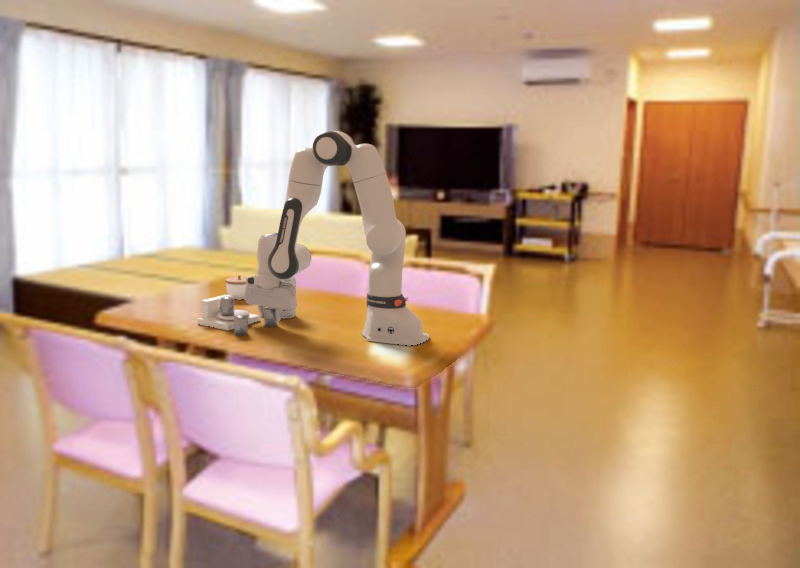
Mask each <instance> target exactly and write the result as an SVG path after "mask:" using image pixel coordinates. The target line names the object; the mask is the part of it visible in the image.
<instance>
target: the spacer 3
mask: <svg viewBox="0 0 800 568" xmlns="http://www.w3.org/2000/svg"><path fill="white" fill-rule="evenodd" d="M276 315H277V311H276V308H270V307H265V308H264V318H263V319H264V320H263V322H264V323H263V326H264V327H265V326H267V327H266V328H274V327H273V326H276V327H278V321H275V320H274V316H276Z"/></svg>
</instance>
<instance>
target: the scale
mask: <svg viewBox="0 0 800 568" xmlns="http://www.w3.org/2000/svg"><path fill="white" fill-rule="evenodd" d="M226 296H230V297H232V296H231V295H229V294H223V295H218V296H214V297H210V298H205V299H202V300H200V303H201V306H200V307H201V310H200V312H201V315H200V316H201V317H198V318H196V319H197V320H196V323H197V325H199V324H200V325H199V326H204V327H208V326H210V328H213V327H214V329H219V330H224V331H231V330H234V316H235V315H247V316H248V325H251V324H255V323H258V322H260V321H261V319H260V318H261V314H260V315H259V314H254V313H250V312H249V311H248V310H244V309H234V316H221V297H226ZM257 321H258V322H257ZM254 322H255V323H254Z"/></svg>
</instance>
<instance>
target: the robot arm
mask: <svg viewBox="0 0 800 568" xmlns="http://www.w3.org/2000/svg"><path fill="white" fill-rule="evenodd" d="M332 166H333V167H334V166H336V167H338V166H341V167H342V166H345V167H346V168H347V169H348V171H349V174H350V176H351V179H352V182H353V186H354V190H355V193H356V197H357V201H358V203H359V207H360V212H361V218H362V219H361V220H362V224H363V229H364V234H365V238H366V239H365V241H366V246H367V248H368V249H369V250H370V251H371V256H370V261H369V268H368V288H367V289H368V292H367V293H366V309H367V310H366V317H365V324H364V327H363V331H362V336H364V338H366V341H368V342H373V343H374V342H375V343H383V344H389V345H390V344H391V345H397V344H399V345H398V346H405V345H407V346H406V347H411V345H413V346H417V344H418V345H421V344H423V342H424V343H425V342H427V341H429V339H430V334H428V333H426V332H424V331H423V329H424V328H423V323H422V320H421V318H420V317H418V316H417V315H416V314H415V313H414V312H413V311H412V310H411V309H410V308H409V307H408V306H407V303H406V302H408V301H409V297H404V294H403V293H402V292H403V291H402V286H403V285H402V284H403V270H404V269H403V267H404V260H405V248H406V237H407V236H406V235H407V232H406V231H407V230H406V228H405V225H404V224H403V223H402V222H401V221H400V220H399V219H397V214H396V208H395V204H394V203H395V202H394V197H393V196H394V195H393V193H392V189H391V186H390V182H389V178H388V175H387V171H386V169H385V166H384V163H383V161H382V158H381V156H380V154H379V152H378V150H377V148H376V147H375V145H373V144H369V143H360V144H356V142H355V140H354V138H353V137H352V136H351V135H350V134H349V133H347V132H343V131H340V130H335V129H334V130H325V131H322V132H321V133H319V134H318V135H317V136H316V137H315V138H314V140H313V143H312V147H302V148H299V149H298V150H296V152H295V153H294V156H293V158H292V161H291V165H290V169H289V175H288V181H287V188H286V196H285V199H284V200H285V201H284V205H283V207H282V208H283V209H282V211H281V212H282V213H281V218H280V222H279V226H278V231H277V232H273V233H267V234H263V235H261V236H260V237H259V239H258V240H257V251H256V252H257V253H256V256H257V258H256V260H257V262H258V263H257V264H258V267H257V273H256V274H254V275H252V276H251V275H250V276H248V277H247V276H246V277H247V278H246V283H247V285H246V287H245V299H244V301H245V302H246V303H247V304H249V305H254V306H257V309H258V311H259V313H260V318H261V319H264V308H267V307H270V308H276V311H277V312H278V313H277V315H276V316H274V320H275V321H277V322H280V321H281V320H282V319H281V315H282V313H283V310H287V311H291V310H294V309H295V308H296V309H297V306H298V303H297V302H298V301H297V292H296V293H295V287H294V286H293V285H292V284H291V283H285V282H284V279H289V278H291V277H292V276H294V277H295V275H297V274H299V273H301V272H303V271H305V270H306V269H308V268H309V267H310V265H311V262H312V255H311V251H310V249H309V248H308V247H306V246H305V245H303V244H300V243H297V242H298V241H297V240H298V236H299V231H300V226H301V224H302V221H303V220H304V218H305V217H306V215H307V214H308V213H309V212H311V211H312V210H313V209H314V208H315V207H316V206H317V204H319V203H318V202H319V200H320V196H321V193H322V187H323V180H324V174H325V172H326V170H327V168H328V167H332ZM291 286H292V287H291ZM426 340H427V341H426ZM420 343H421V344H420Z"/></svg>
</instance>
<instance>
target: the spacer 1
mask: <svg viewBox="0 0 800 568" xmlns="http://www.w3.org/2000/svg"><path fill="white" fill-rule="evenodd" d="M234 310H235V300H234V297H230V296H226V297H221V316H234Z"/></svg>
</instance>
